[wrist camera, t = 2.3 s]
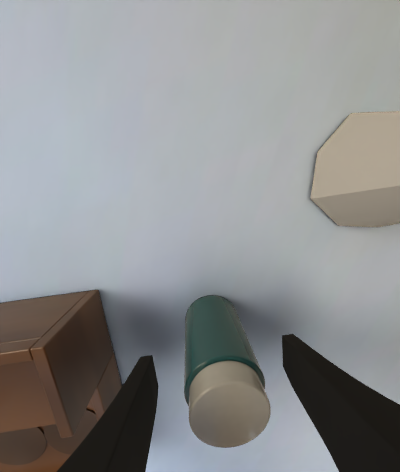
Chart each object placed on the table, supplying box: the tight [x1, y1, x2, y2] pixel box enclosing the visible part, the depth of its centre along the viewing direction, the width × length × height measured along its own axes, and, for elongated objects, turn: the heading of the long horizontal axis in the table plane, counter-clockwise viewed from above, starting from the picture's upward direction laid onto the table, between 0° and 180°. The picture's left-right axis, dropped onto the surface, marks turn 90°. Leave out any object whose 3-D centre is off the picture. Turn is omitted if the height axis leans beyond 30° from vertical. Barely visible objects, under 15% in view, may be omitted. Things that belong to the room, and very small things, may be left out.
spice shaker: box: [184, 295, 270, 448], centre depth 11 cm, size 4×4×6 cm
